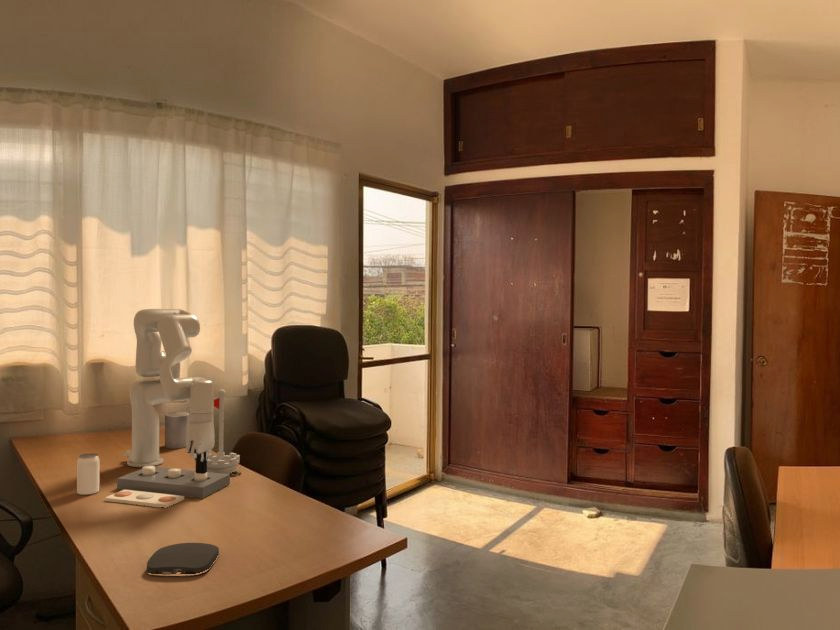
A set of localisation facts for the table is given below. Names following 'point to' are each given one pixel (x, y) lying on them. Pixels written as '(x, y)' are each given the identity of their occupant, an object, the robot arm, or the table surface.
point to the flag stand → (221, 445)
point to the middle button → (174, 473)
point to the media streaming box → (183, 558)
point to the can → (88, 474)
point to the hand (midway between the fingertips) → (201, 472)
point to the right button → (200, 477)
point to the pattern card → (144, 498)
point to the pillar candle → (176, 429)
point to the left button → (148, 470)
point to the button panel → (173, 483)
